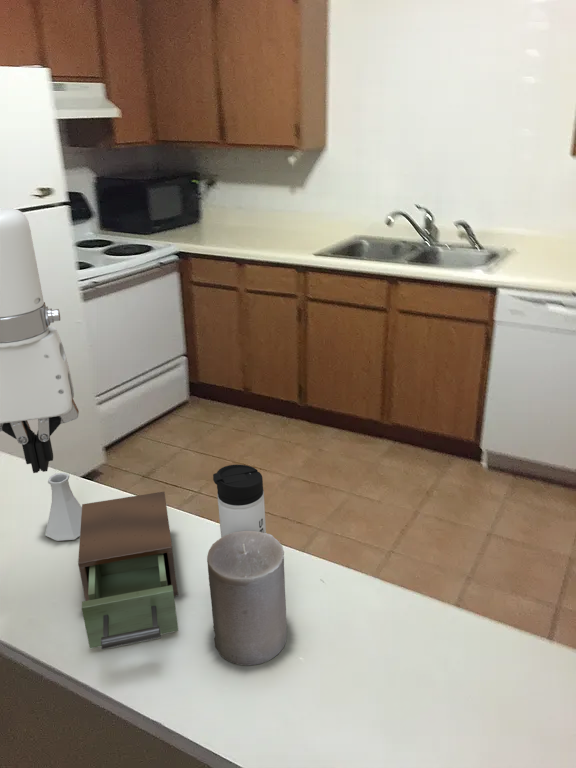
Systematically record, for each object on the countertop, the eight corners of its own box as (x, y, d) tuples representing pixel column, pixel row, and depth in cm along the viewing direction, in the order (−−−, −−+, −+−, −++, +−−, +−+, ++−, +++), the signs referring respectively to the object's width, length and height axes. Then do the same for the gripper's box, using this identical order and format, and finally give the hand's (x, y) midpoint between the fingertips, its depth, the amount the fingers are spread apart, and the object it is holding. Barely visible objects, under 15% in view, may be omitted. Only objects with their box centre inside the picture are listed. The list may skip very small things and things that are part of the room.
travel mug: (218, 583, 98) (207, 465, 90) (261, 571, 100) (254, 455, 92) (230, 611, 93) (219, 489, 85) (275, 598, 95) (269, 478, 87)
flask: (37, 539, 109) (25, 487, 105) (61, 514, 116) (50, 464, 112) (77, 544, 108) (66, 492, 104) (98, 518, 114) (89, 468, 110)
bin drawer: (182, 660, 84) (176, 619, 81) (88, 680, 82) (79, 638, 79) (170, 566, 101) (165, 529, 98) (92, 580, 98) (85, 543, 95)
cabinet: (178, 595, 96) (172, 547, 93) (87, 612, 94) (78, 563, 90) (170, 535, 109) (164, 491, 106) (90, 549, 107) (82, 504, 103)
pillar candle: (199, 648, 87) (189, 555, 81) (241, 602, 94) (234, 513, 88) (262, 677, 82) (256, 581, 76) (301, 626, 90) (298, 534, 84)
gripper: (82, 307, 79) (104, 443, 86) (-54, 320, 76) (-19, 460, 83) (80, 327, 72) (104, 473, 80) (-70, 342, 69) (-30, 492, 77)
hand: (41, 466), depth 81 cm, fingers closed
